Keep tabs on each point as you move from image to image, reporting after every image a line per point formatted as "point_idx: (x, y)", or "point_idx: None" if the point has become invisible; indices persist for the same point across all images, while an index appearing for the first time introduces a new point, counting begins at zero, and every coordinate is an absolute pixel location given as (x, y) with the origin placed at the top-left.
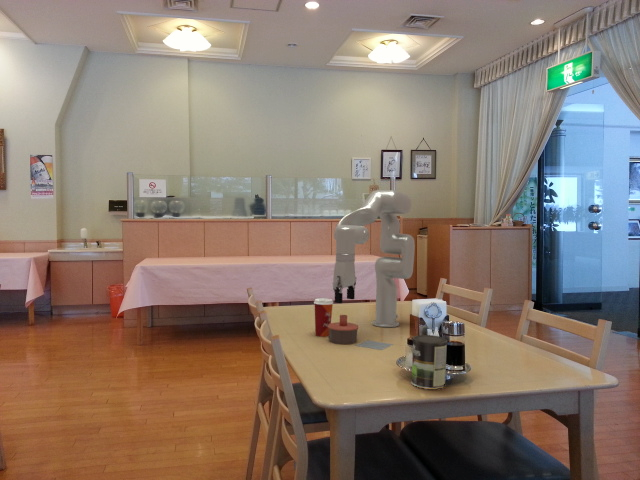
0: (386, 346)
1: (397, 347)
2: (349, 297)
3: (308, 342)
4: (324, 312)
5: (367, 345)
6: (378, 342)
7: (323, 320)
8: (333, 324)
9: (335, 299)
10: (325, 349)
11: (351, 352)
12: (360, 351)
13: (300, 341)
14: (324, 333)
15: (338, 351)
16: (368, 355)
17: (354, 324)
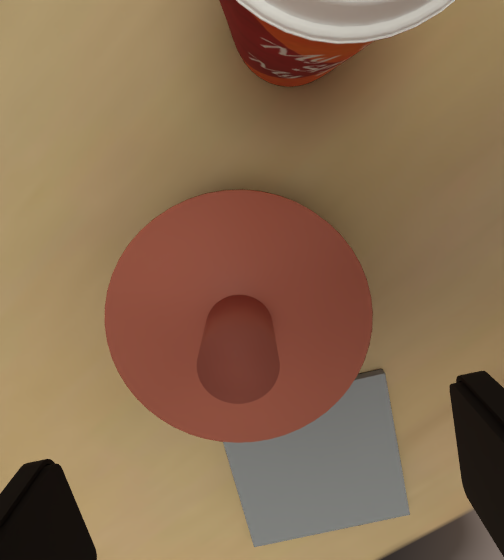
0: (339, 520)
1: (395, 536)
2: (464, 441)
3: (43, 136)
4: (250, 26)
5: (274, 450)
6: (383, 444)
7: (245, 44)
8: (197, 245)
9: (6, 508)
10: (27, 339)
11: (113, 465)
12: (169, 478)
13: (9, 72)
14: (259, 75)
15: (65, 412)
16: (145, 545)
17: (348, 355)
